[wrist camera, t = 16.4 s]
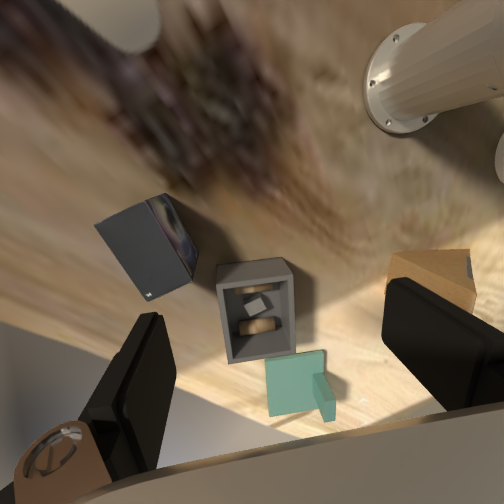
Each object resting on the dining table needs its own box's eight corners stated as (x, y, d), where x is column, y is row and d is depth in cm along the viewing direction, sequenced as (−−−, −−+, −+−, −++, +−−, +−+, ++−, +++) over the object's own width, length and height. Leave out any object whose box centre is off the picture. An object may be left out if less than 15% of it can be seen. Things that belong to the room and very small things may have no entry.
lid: (320, 346, 47) (338, 379, 40) (319, 400, 52) (335, 438, 45) (263, 355, 46) (271, 390, 39) (268, 408, 51) (275, 449, 44)
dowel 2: (273, 315, 41) (276, 330, 40) (272, 317, 43) (274, 331, 42) (238, 320, 41) (240, 335, 40) (238, 321, 43) (240, 336, 42)
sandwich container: (457, 290, 47) (559, 342, 33) (383, 295, 45) (456, 353, 31) (470, 247, 44) (588, 285, 30) (391, 251, 42) (476, 293, 28)
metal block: (258, 291, 41) (260, 297, 39) (264, 302, 42) (266, 308, 40) (242, 299, 41) (243, 305, 39) (248, 310, 42) (250, 316, 40)
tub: (281, 256, 40) (293, 274, 33) (285, 326, 44) (296, 353, 38) (216, 265, 39) (215, 284, 32) (227, 334, 44) (228, 364, 37)
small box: (202, 253, 38) (195, 283, 28) (165, 270, 38) (146, 305, 28) (167, 190, 35) (146, 199, 25) (126, 209, 35) (89, 226, 25)
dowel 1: (269, 274, 40) (271, 276, 38) (270, 288, 40) (273, 291, 38) (233, 278, 40) (233, 281, 37) (234, 293, 40) (235, 296, 38)
